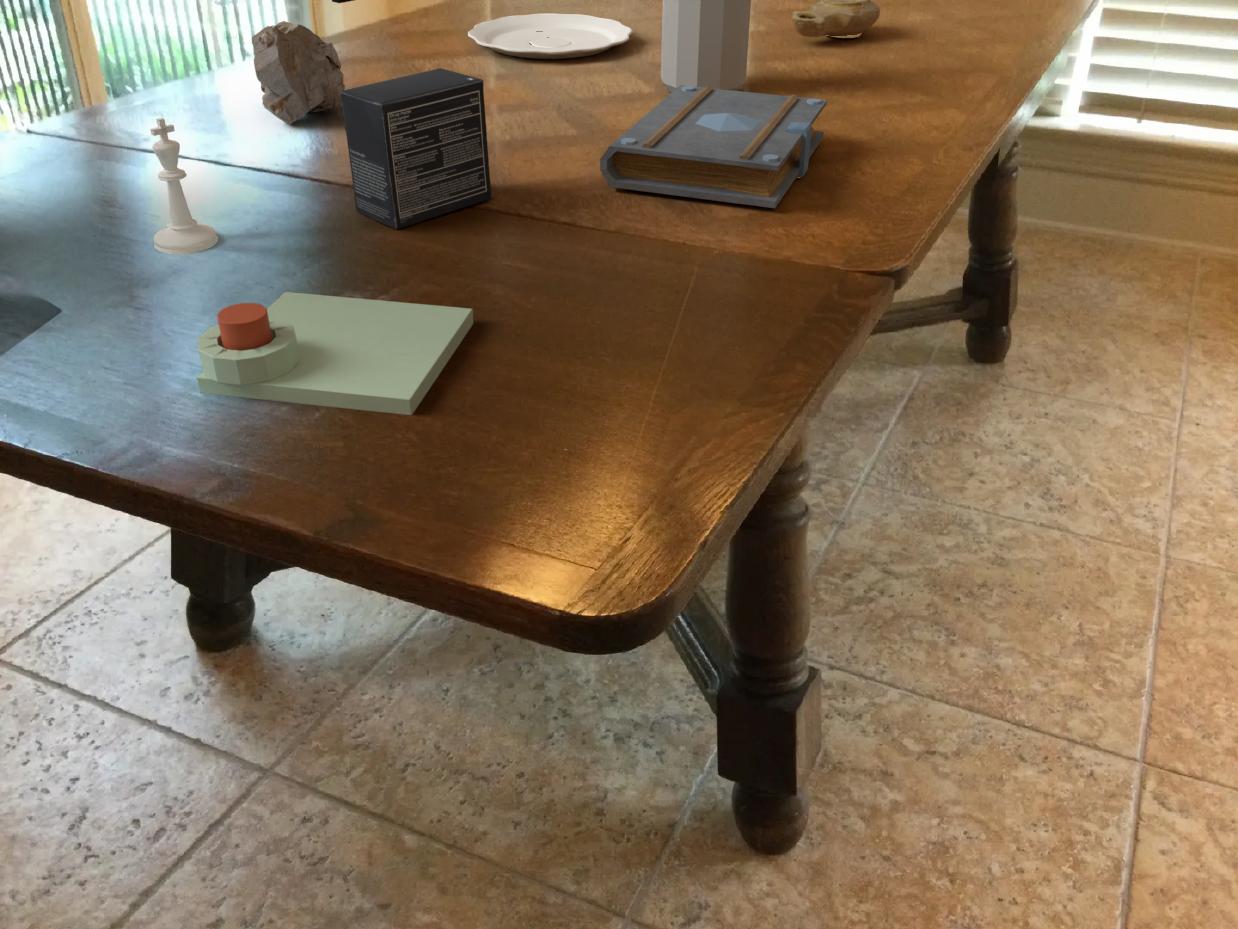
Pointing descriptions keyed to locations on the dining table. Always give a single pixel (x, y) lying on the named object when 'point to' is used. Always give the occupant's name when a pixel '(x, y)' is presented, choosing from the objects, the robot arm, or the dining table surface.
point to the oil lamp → (836, 18)
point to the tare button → (244, 326)
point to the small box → (417, 146)
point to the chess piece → (177, 202)
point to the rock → (296, 71)
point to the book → (717, 146)
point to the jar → (705, 43)
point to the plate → (550, 35)
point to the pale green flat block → (339, 353)
